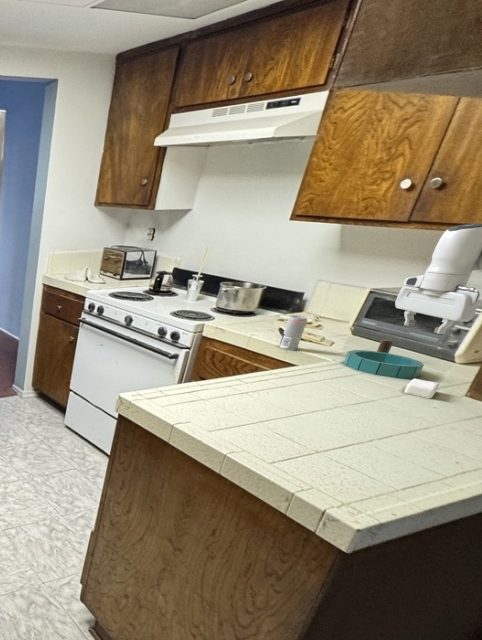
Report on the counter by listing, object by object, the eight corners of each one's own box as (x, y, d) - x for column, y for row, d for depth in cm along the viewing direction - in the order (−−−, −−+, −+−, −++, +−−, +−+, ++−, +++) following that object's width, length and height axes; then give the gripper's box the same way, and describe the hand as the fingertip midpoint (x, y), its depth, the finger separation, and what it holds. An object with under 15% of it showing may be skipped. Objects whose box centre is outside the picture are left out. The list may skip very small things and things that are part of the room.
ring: (384, 362, 161) (388, 351, 159) (433, 379, 145) (439, 367, 143) (330, 360, 162) (335, 349, 161) (374, 377, 146) (379, 365, 144)
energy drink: (290, 346, 177) (301, 315, 173) (300, 350, 172) (311, 318, 168) (275, 346, 178) (285, 315, 173) (284, 350, 173) (295, 318, 168)
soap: (430, 399, 129) (435, 389, 128) (403, 393, 133) (407, 383, 132) (435, 392, 134) (440, 382, 133) (409, 387, 138) (413, 377, 137)
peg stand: (382, 355, 169) (389, 337, 166) (399, 361, 162) (407, 343, 160) (361, 354, 169) (368, 337, 167) (378, 360, 163) (386, 342, 160)
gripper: (494, 289, 126) (471, 339, 131) (421, 278, 144) (403, 322, 150) (469, 288, 126) (446, 338, 131) (399, 278, 145) (382, 321, 150)
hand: (423, 329), depth 141 cm, fingers open, 8 cm apart
